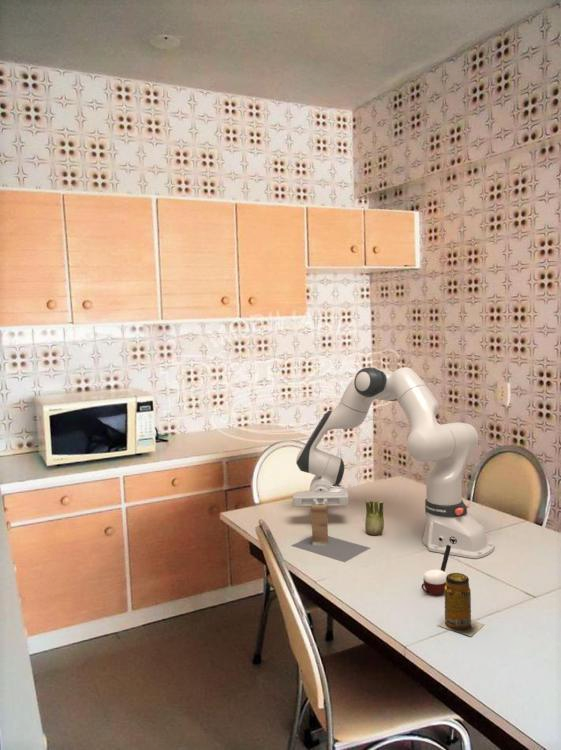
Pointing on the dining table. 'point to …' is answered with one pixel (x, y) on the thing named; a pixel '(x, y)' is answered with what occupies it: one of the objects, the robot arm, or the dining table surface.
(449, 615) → the condiment
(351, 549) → the felt mat
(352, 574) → the dining table surface
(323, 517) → the walnut block
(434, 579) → the cocoa
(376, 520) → the fennel bulb
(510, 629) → the dining table surface
